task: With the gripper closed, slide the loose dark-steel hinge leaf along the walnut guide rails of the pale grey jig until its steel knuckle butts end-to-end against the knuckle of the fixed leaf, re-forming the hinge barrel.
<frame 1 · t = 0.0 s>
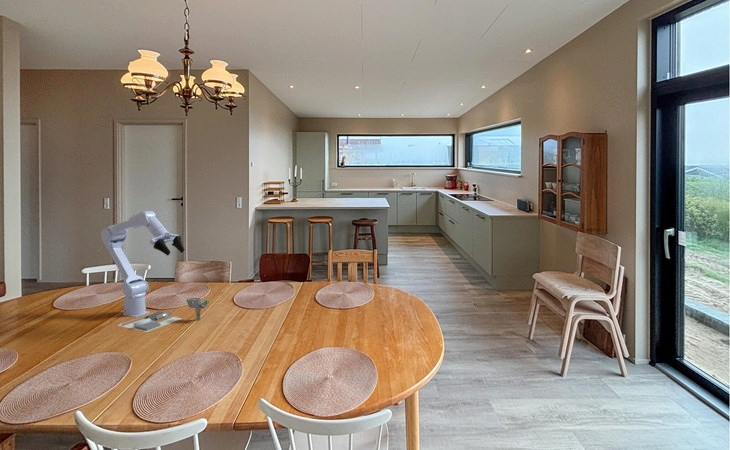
hand: (176, 252, 192), 32 cm above the table, tool tilted 50°, fingers open, 7 cm apart
mechanical component: (198, 320, 199), on the table
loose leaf: (159, 317, 202), resting on hinge jig
hinge jig: (150, 322, 196), on the table
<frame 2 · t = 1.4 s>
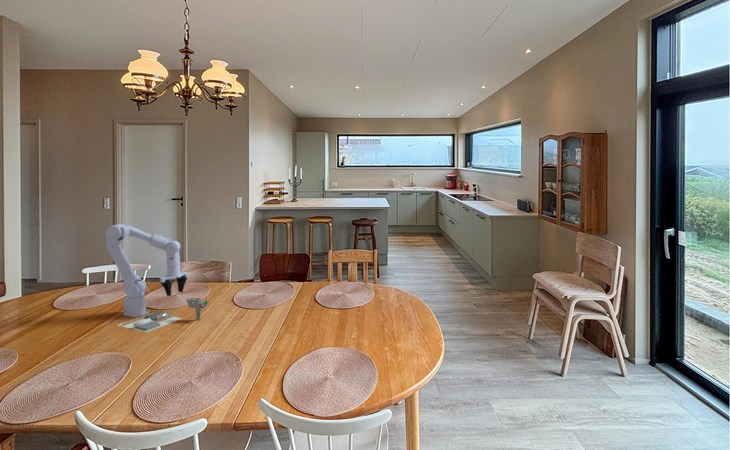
hand: (174, 293, 209), 9 cm above the table, tool pointing down, fingers open, 6 cm apart
nothing on the table moved.
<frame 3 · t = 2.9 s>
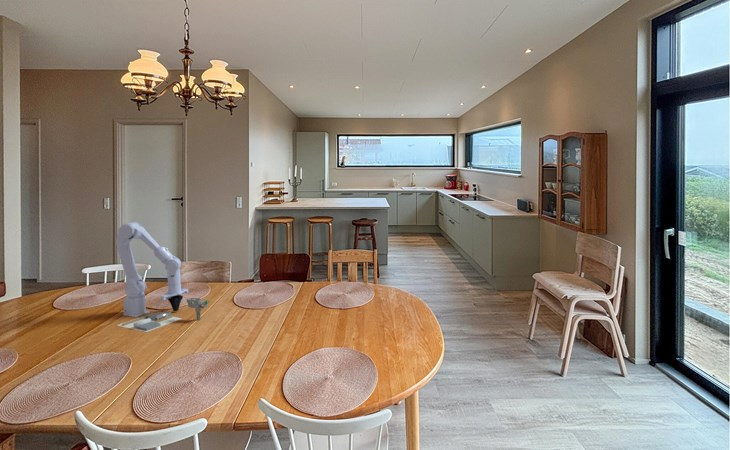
hand: (175, 310, 210), 1 cm above the table, tool pointing down, fingers closed
nothing on the table moved.
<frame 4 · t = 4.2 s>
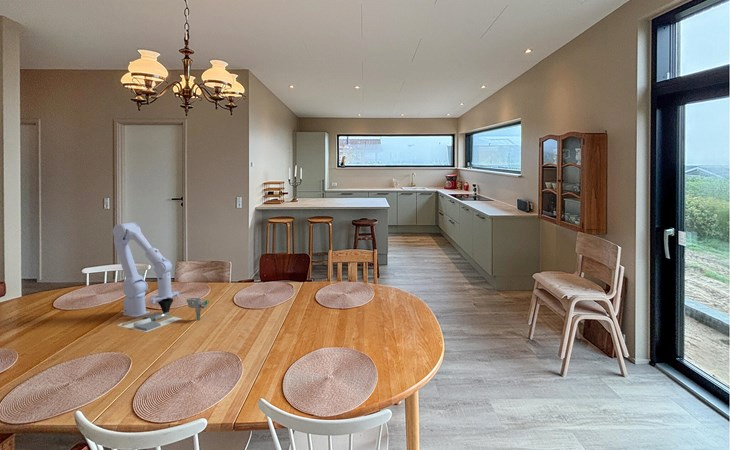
hand: (166, 314, 205), 1 cm above the table, tool pointing down, fingers closed
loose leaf: (157, 317, 201), resting on hinge jig, touching gripper
everything else where it was.
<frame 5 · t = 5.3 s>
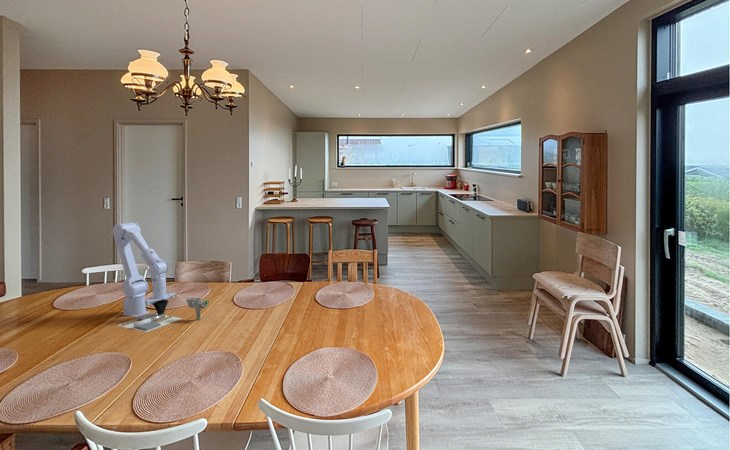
hand: (160, 316, 202), 1 cm above the table, tool pointing down, fingers closed
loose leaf: (152, 319, 199), resting on hinge jig, touching gripper
everything else where it was.
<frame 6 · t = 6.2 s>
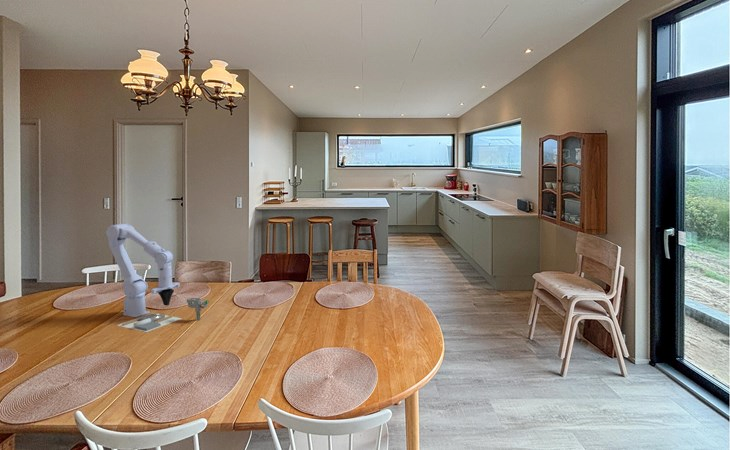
hand: (166, 304, 205), 5 cm above the table, tool pointing down, fingers closed
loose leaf: (152, 319, 199), resting on hinge jig
everything else where it was.
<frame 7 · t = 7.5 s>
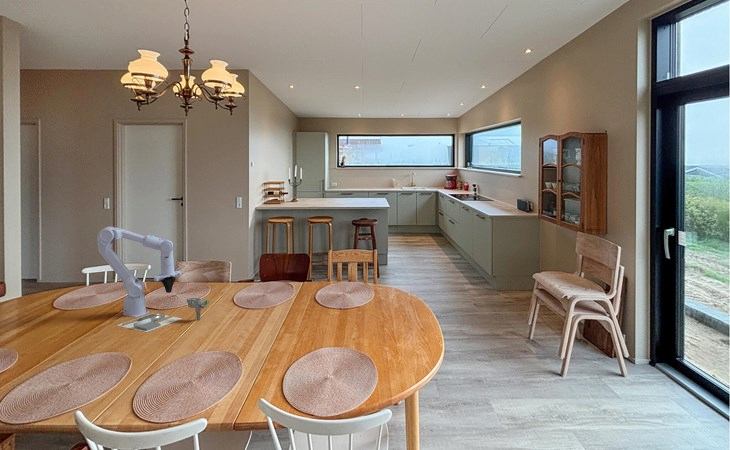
hand: (168, 292, 211), 9 cm above the table, tool pointing down, fingers closed
nothing on the table moved.
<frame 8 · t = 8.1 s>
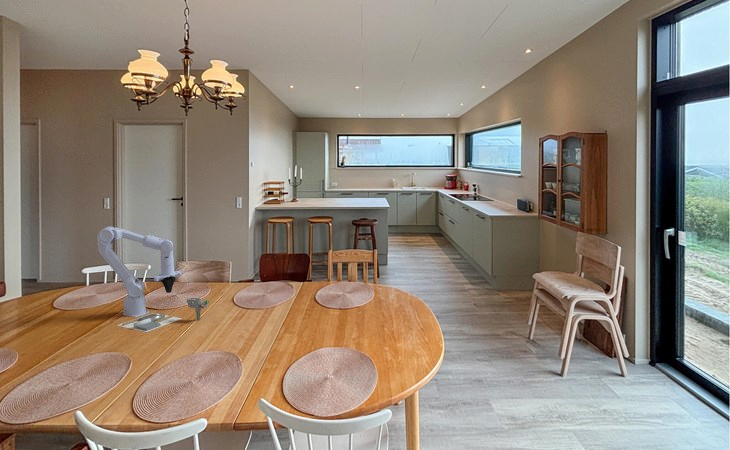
hand: (168, 292, 211), 9 cm above the table, tool pointing down, fingers closed
nothing on the table moved.
at the end: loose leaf 0.3 cm from the target spot, resting on hinge jig; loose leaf tilted 0°; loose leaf moved 3.8 cm from its start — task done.
